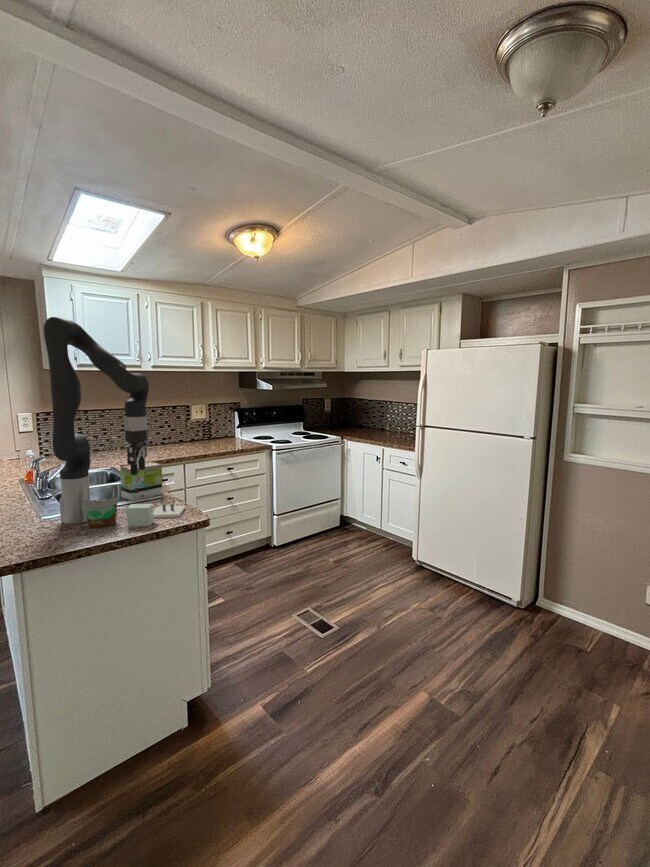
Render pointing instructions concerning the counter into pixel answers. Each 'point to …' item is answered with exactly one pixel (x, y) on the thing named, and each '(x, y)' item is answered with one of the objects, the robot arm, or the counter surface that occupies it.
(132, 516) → the block
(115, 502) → the food container
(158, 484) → the tea box
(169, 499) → the counter surface
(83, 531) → the counter surface
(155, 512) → the stub plate
